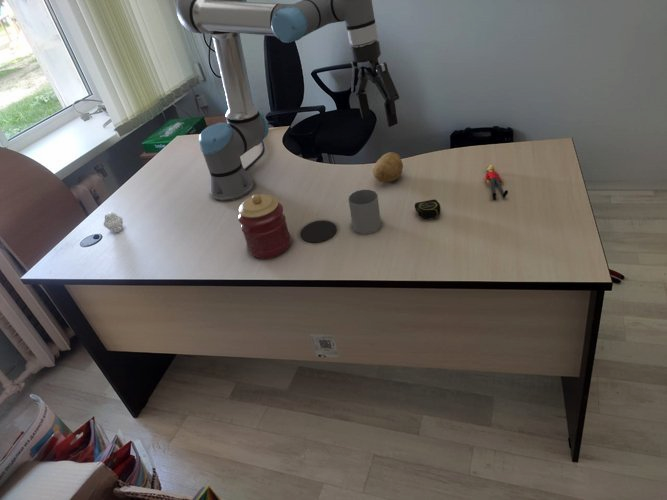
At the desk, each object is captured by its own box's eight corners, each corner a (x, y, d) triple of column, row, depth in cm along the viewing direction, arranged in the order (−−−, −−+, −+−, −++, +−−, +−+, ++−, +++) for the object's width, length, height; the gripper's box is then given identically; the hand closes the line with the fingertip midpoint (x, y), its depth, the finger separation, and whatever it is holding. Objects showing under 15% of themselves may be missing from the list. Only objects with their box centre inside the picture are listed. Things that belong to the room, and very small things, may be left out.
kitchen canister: (274, 264, 134) (258, 211, 123) (239, 254, 140) (222, 203, 129) (300, 237, 142) (287, 186, 131) (266, 229, 148) (252, 180, 138)
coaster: (297, 227, 146) (296, 226, 146) (331, 217, 148) (331, 216, 148) (305, 247, 138) (304, 245, 138) (341, 236, 139) (340, 235, 139)
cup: (384, 218, 143) (380, 190, 137) (377, 234, 137) (373, 205, 131) (357, 217, 146) (353, 189, 140) (349, 232, 140) (344, 204, 134)
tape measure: (437, 207, 143) (436, 196, 141) (443, 219, 138) (443, 208, 136) (414, 211, 144) (414, 200, 141) (420, 223, 138) (419, 212, 136)
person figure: (493, 187, 139) (485, 158, 153) (488, 198, 142) (481, 169, 156) (510, 191, 139) (500, 161, 153) (504, 202, 142) (496, 172, 156)
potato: (408, 169, 165) (406, 147, 160) (397, 190, 155) (396, 168, 150) (381, 167, 168) (379, 147, 164) (369, 188, 158) (366, 167, 154)
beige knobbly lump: (108, 229, 164) (99, 212, 160) (126, 222, 166) (117, 206, 161) (108, 237, 159) (99, 220, 155) (127, 231, 161) (118, 214, 157)
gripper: (404, 40, 116) (416, 123, 127) (351, 36, 135) (366, 109, 147) (379, 50, 113) (394, 134, 125) (329, 45, 133) (345, 117, 144)
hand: (379, 120), depth 136 cm, fingers open, 13 cm apart
